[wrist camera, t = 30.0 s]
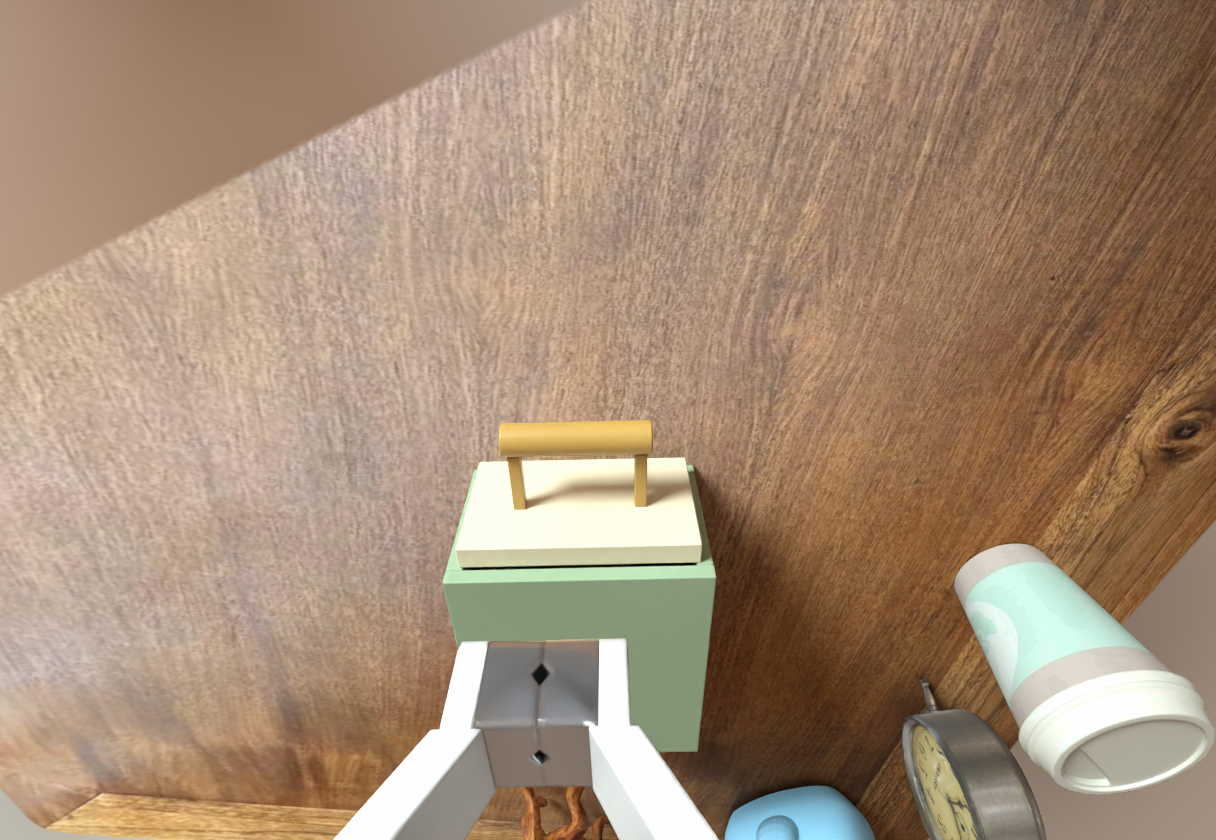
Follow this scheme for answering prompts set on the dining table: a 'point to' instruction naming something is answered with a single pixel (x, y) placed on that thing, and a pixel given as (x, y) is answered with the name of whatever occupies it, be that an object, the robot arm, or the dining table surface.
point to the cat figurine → (567, 836)
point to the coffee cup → (1079, 678)
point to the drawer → (579, 501)
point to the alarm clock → (966, 778)
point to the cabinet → (606, 624)
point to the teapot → (799, 817)
